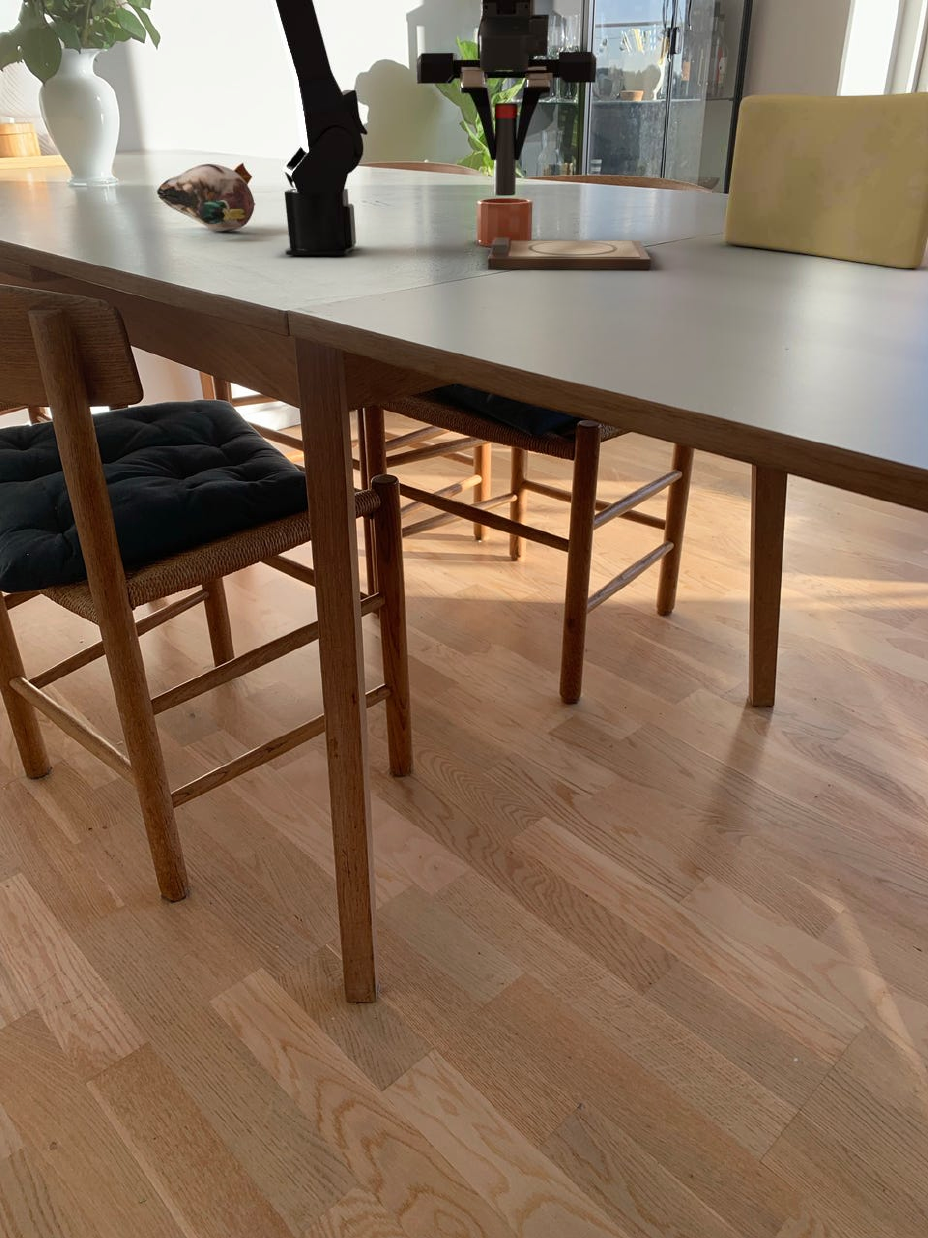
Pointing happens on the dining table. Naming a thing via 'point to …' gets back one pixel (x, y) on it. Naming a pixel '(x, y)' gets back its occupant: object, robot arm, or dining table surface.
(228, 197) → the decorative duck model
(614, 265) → the wooden board with ring
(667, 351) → the dining table surface
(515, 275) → the dining table surface
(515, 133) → the marker
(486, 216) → the pen pot
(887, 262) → the cheese
